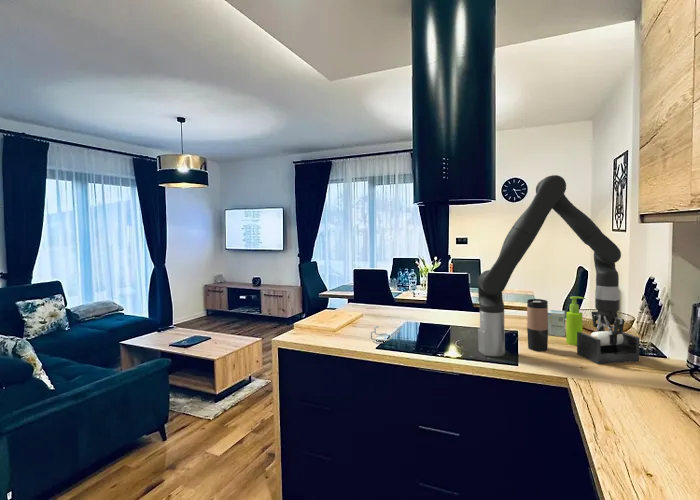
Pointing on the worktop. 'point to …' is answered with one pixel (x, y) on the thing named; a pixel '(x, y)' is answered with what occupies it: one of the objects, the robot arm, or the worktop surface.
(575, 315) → the soap dispenser
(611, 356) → the holder
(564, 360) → the worktop surface
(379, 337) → the wall mount rack
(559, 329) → the light bulb box
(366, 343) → the worktop surface
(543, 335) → the travel mug
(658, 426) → the worktop surface
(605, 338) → the kitchen roll
